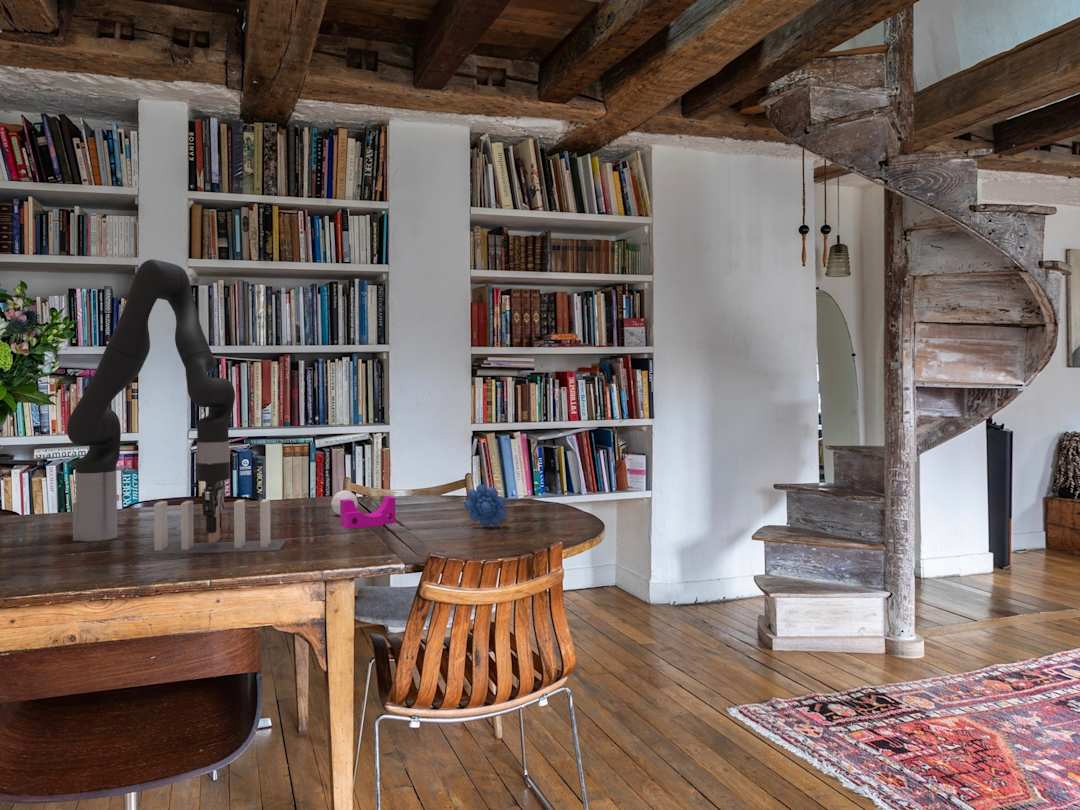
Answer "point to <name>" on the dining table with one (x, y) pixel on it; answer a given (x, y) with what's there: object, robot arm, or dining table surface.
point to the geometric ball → (342, 496)
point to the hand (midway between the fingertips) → (214, 530)
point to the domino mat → (213, 548)
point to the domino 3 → (216, 536)
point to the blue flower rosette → (485, 506)
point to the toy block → (357, 519)
